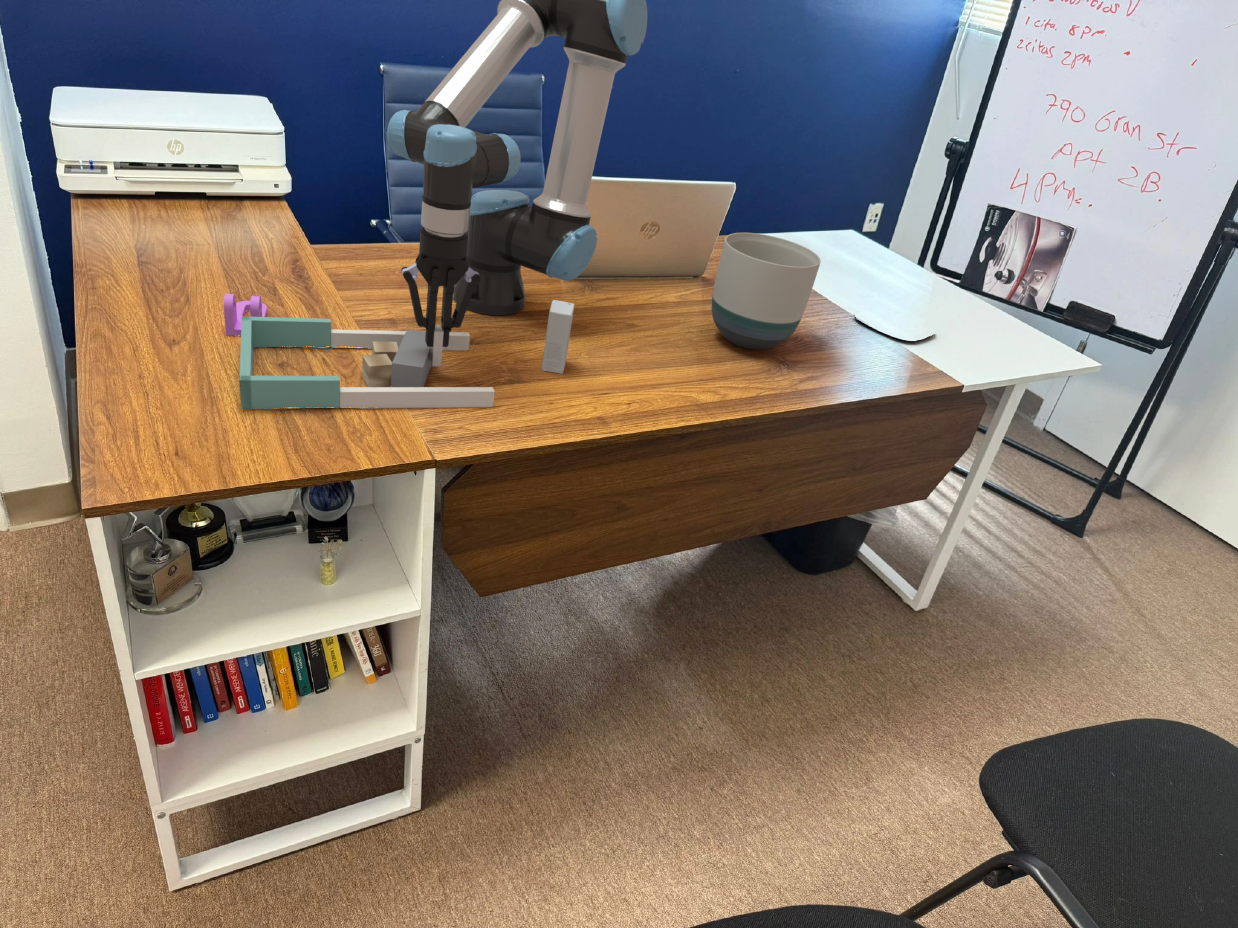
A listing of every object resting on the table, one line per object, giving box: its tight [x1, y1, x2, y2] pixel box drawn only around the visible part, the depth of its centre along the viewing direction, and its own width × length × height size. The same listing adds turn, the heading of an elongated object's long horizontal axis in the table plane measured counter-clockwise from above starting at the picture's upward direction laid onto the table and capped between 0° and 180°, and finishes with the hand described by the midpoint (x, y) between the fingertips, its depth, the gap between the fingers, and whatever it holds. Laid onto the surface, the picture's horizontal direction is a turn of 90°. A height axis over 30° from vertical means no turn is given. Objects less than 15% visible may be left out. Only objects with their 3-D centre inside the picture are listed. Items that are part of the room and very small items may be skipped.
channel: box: [331, 328, 496, 409], centre depth 146 cm, size 24×23×3 cm
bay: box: [238, 315, 341, 411], centre depth 138 cm, size 14×23×5 cm, turn 20°
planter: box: [711, 232, 822, 351], centre depth 181 cm, size 20×20×21 cm
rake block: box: [390, 328, 432, 387], centre depth 146 cm, size 5×14×5 cm, turn 3°
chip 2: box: [361, 354, 392, 387], centre depth 141 cm, size 4×4×4 cm
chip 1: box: [371, 341, 398, 362], centre depth 146 cm, size 4×4×4 cm
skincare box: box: [541, 299, 575, 375], centre depth 156 cm, size 6×4×12 cm
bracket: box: [223, 293, 268, 337], centre depth 151 cm, size 13×6×7 cm, turn 13°
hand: (435, 362), depth 147 cm, fingers closed
